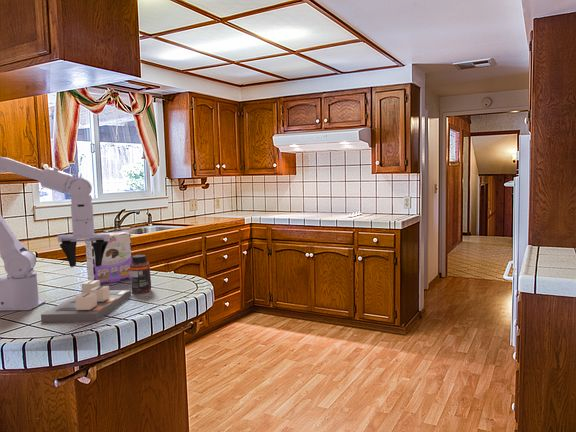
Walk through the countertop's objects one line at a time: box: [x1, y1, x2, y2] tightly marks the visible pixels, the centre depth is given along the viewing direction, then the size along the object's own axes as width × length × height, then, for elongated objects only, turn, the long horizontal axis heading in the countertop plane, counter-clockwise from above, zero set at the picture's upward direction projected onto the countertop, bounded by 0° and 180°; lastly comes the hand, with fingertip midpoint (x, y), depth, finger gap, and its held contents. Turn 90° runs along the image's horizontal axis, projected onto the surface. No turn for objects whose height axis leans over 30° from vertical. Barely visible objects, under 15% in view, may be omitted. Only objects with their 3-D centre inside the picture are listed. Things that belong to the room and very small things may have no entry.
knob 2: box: [90, 285, 110, 302], centre depth 125 cm, size 4×4×3 cm
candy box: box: [84, 231, 133, 286], centre depth 157 cm, size 14×6×16 cm, turn 134°
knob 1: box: [81, 279, 101, 294], centre depth 133 cm, size 4×4×3 cm
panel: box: [40, 289, 132, 323], centre depth 125 cm, size 14×23×2 cm, turn 178°
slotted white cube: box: [76, 293, 97, 310], centre depth 118 cm, size 4×4×3 cm
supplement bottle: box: [130, 254, 152, 294], centre depth 142 cm, size 6×6×11 cm
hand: (85, 266), depth 133 cm, fingers open, 7 cm apart
